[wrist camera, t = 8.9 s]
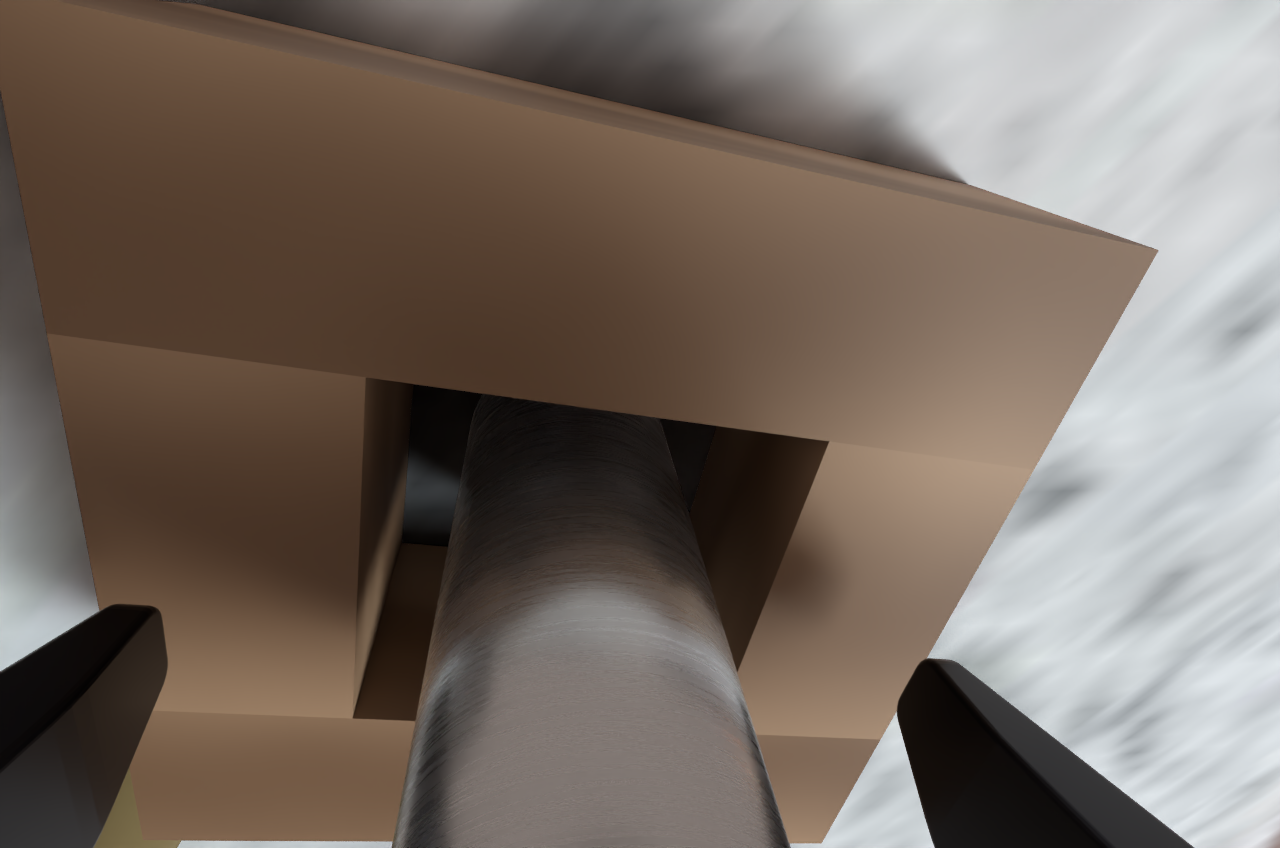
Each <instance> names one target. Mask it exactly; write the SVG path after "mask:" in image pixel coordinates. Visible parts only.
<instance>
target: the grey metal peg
mask: <svg viewBox="0 0 1280 848" xmlns="http://www.w3.org/2000/svg"><path fill="white" fill-rule="evenodd" d="M392 848H791V847H790V844H789V841H788V838H787V834H786V831H785V828H784V825H783V821H782V818H781V815H780V811H779V808H778V805H777V802H776V798H775V795H774V792H773V788H772V785H771V782H770V779H769V775H768V772H767V769H766V765H765V762H764V759H763V756H762V752H761V749H760V746H759V743H758V739H757V736H756V733H755V729H754V726H753V723H752V720H751V716H750V713H749V710H748V706H747V703H746V700H745V697H744V693H743V690H742V687H741V683H740V680H739V677H738V674H737V670H736V667H735V664H734V661H733V657H732V654H731V651H730V647H729V644H728V641H727V638H726V634H725V631H724V628H723V624H722V621H721V618H720V615H719V611H718V608H717V605H716V601H715V598H714V595H713V592H712V588H711V585H710V582H709V579H708V575H707V572H706V569H705V565H704V562H703V559H702V556H701V552H700V549H699V546H698V542H697V539H696V536H695V533H694V529H693V526H692V523H691V519H690V516H689V513H688V510H687V506H686V503H685V500H684V497H683V493H682V490H681V487H680V483H679V480H678V477H677V474H676V470H675V467H674V464H673V460H672V457H671V454H670V451H669V447H668V444H667V441H666V437H665V434H664V431H663V428H662V424H661V421H660V418H656V417H649V416H641V415H634V414H627V413H620V412H612V411H605V410H598V409H591V408H584V407H576V406H569V405H562V404H555V403H547V402H540V401H533V400H526V399H518V398H511V397H504V396H497V395H489V394H482V396H481V398H480V400H479V402H478V403H477V405H476V408H475V411H474V414H473V417H472V422H471V427H470V432H469V438H468V443H467V448H466V454H465V459H464V464H463V470H462V475H461V480H460V486H459V491H458V496H457V502H456V507H455V512H454V518H453V523H452V528H451V534H450V539H449V544H448V550H447V555H446V560H445V566H444V571H443V576H442V582H441V587H440V593H439V598H438V603H437V609H436V614H435V619H434V625H433V630H432V635H431V641H430V646H429V651H428V657H427V662H426V667H425V673H424V678H423V683H422V689H421V694H420V699H419V705H418V710H417V715H416V721H415V726H414V731H413V737H412V742H411V748H410V753H409V758H408V764H407V769H406V774H405V780H404V785H403V790H402V796H401V801H400V806H399V812H398V817H397V822H396V828H395V833H394V838H393V844H392Z"/></svg>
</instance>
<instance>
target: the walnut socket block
mask: <svg viewBox="0 0 1280 848" xmlns="http://www.w3.org/2000/svg"><path fill="white" fill-rule="evenodd" d="M0 91H1V96H2V101H3V107H4V112H5V117H6V122H7V128H8V133H9V138H10V143H11V149H12V154H13V159H14V164H15V170H16V175H17V180H18V185H19V191H20V196H21V201H22V206H23V212H24V217H25V222H26V227H27V233H28V238H29V243H30V248H31V254H32V259H33V264H34V270H35V275H36V280H37V285H38V291H39V296H40V301H41V306H42V312H43V317H44V322H45V327H46V333H47V338H48V343H49V348H50V354H51V359H52V364H53V369H54V375H55V380H56V385H57V390H58V396H59V401H60V406H61V411H62V417H63V422H64V427H65V432H66V438H67V443H68V448H69V454H70V459H71V464H72V469H73V475H74V480H75V485H76V490H77V496H78V501H79V506H80V511H81V517H82V522H83V527H84V532H85V538H86V543H87V548H88V553H89V559H90V564H91V569H92V574H93V580H94V585H95V590H96V595H97V601H98V606H99V611H100V610H102V609H104V608H106V607H108V606H110V605H113V604H133V605H148V606H153V607H156V608H158V609H159V611H160V612H161V615H162V620H163V627H164V635H165V642H166V649H167V657H168V669H167V675H166V678H165V682H164V685H163V687H162V690H161V692H160V695H159V697H158V699H157V702H156V704H155V707H154V709H153V711H152V714H151V716H150V719H149V721H148V723H147V726H146V728H145V731H144V733H143V735H142V738H141V740H140V743H139V745H138V747H137V750H136V752H135V755H134V757H133V759H132V762H131V764H130V767H129V769H130V774H131V779H132V785H133V790H134V795H135V800H136V806H137V811H138V816H139V821H140V827H141V832H142V837H143V840H205V841H393V838H394V833H395V828H396V822H397V817H398V812H399V806H400V801H401V796H402V790H403V785H404V780H405V774H406V769H407V764H408V758H409V753H410V748H411V742H412V737H413V731H414V726H415V721H416V715H417V710H418V705H419V699H420V694H421V689H422V683H423V678H424V673H425V667H426V662H427V657H428V651H429V646H430V641H431V635H432V630H433V625H434V619H435V614H436V609H437V603H438V598H439V593H440V587H441V582H442V576H443V571H444V566H445V560H446V555H447V550H448V547H443V546H432V545H421V544H410V543H402V533H403V520H404V506H405V493H406V479H407V466H408V452H409V439H410V425H411V412H412V398H413V385H414V384H417V385H424V386H431V387H439V388H446V389H453V390H460V391H468V392H475V393H482V394H489V395H497V396H504V397H511V398H518V399H526V400H533V401H540V402H547V403H555V404H562V405H569V406H576V407H584V408H591V409H598V410H605V411H612V412H620V413H627V414H634V415H641V416H649V417H656V418H663V419H670V420H678V421H685V422H692V423H699V424H707V425H714V426H716V429H715V433H714V436H713V439H712V442H711V446H710V449H709V452H708V455H707V459H706V462H705V465H704V468H703V472H702V475H701V478H700V481H699V485H698V488H697V491H696V494H695V498H694V501H693V504H692V507H691V511H690V514H689V516H690V519H691V523H692V526H693V529H694V533H695V536H696V539H697V542H698V546H699V549H700V552H701V556H702V559H703V562H704V565H705V569H706V572H707V575H708V579H709V582H710V585H711V588H712V592H713V595H714V598H715V601H716V605H717V608H718V611H719V615H720V618H721V621H722V624H723V628H724V631H725V634H726V638H727V641H728V644H729V647H730V651H731V654H732V657H733V661H734V664H735V667H736V670H737V674H738V677H739V680H740V683H741V687H742V690H743V693H744V697H745V700H746V703H747V706H748V710H749V713H750V716H751V720H752V723H753V726H754V729H755V733H756V736H757V739H758V743H759V746H760V749H761V752H762V756H763V759H764V762H765V765H766V769H767V772H768V775H769V779H770V782H771V785H772V788H773V792H774V795H775V798H776V802H777V805H778V808H779V811H780V815H781V818H782V821H783V825H784V828H785V831H786V834H787V838H788V841H789V843H822V841H823V840H824V838H825V836H826V834H827V833H828V831H829V829H830V827H831V825H832V824H833V822H834V820H835V818H836V817H837V815H838V813H839V811H840V810H841V808H842V806H843V804H844V803H845V801H846V799H847V797H848V796H849V794H850V792H851V790H852V789H853V787H854V785H855V783H856V782H857V780H858V778H859V776H860V775H861V773H862V771H863V769H864V767H865V766H866V764H867V762H868V760H869V759H870V757H871V755H872V753H873V752H874V750H875V748H876V746H877V745H878V743H879V741H880V739H881V738H882V736H883V734H884V732H885V731H886V729H887V727H888V725H889V724H890V722H891V720H892V718H893V716H894V715H895V713H896V711H897V704H898V700H899V698H900V696H901V694H902V692H903V690H904V688H905V687H906V685H907V683H908V681H909V680H910V678H911V676H912V674H913V672H914V671H915V669H916V667H917V665H918V664H919V663H920V662H921V661H923V660H924V659H926V658H927V657H928V655H929V653H930V651H931V650H932V648H933V646H934V644H935V643H936V641H937V639H938V637H939V636H940V634H941V632H942V630H943V629H944V627H945V625H946V623H947V622H948V620H949V618H950V616H951V614H952V613H953V611H954V609H955V607H956V606H957V604H958V602H959V600H960V599H961V597H962V595H963V593H964V592H965V590H966V588H967V586H968V585H969V583H970V581H971V579H972V578H973V576H974V574H975V572H976V571H977V569H978V567H979V565H980V564H981V562H982V560H983V558H984V556H985V555H986V553H987V551H988V549H989V548H990V546H991V544H992V542H993V541H994V539H995V537H996V535H997V534H998V532H999V530H1000V528H1001V527H1002V525H1003V523H1004V521H1005V520H1006V518H1007V516H1008V514H1009V513H1010V511H1011V509H1012V507H1013V505H1014V504H1015V502H1016V500H1017V498H1018V497H1019V495H1020V493H1021V491H1022V490H1023V488H1024V486H1025V484H1026V483H1027V481H1028V479H1029V477H1030V476H1031V474H1032V472H1033V470H1034V469H1035V467H1036V465H1037V463H1038V462H1039V460H1040V458H1041V456H1042V454H1043V453H1044V451H1045V449H1046V447H1047V446H1048V444H1049V442H1050V440H1051V439H1052V437H1053V435H1054V433H1055V432H1056V430H1057V428H1058V426H1059V425H1060V423H1061V421H1062V419H1063V418H1064V416H1065V414H1066V412H1067V411H1068V409H1069V407H1070V405H1071V403H1072V402H1073V400H1074V398H1075V396H1076V395H1077V393H1078V391H1079V389H1080V388H1081V386H1082V384H1083V382H1084V381H1085V379H1086V377H1087V375H1088V374H1089V372H1090V370H1091V368H1092V367H1093V365H1094V363H1095V361H1096V360H1097V358H1098V356H1099V354H1100V353H1101V351H1102V349H1103V347H1104V345H1105V344H1106V342H1107V340H1108V338H1109V337H1110V335H1111V333H1112V331H1113V330H1114V328H1115V326H1116V324H1117V323H1118V321H1119V319H1120V317H1121V316H1122V314H1123V312H1124V310H1125V309H1126V307H1127V305H1128V303H1129V302H1130V300H1131V298H1132V296H1133V294H1134V293H1135V291H1136V289H1137V287H1138V286H1139V284H1140V282H1141V280H1142V279H1143V277H1144V275H1145V273H1146V272H1147V270H1148V268H1149V266H1150V265H1151V263H1152V261H1153V259H1154V258H1155V256H1156V254H1157V252H1158V251H1159V250H1156V249H1154V248H1151V247H1148V246H1145V245H1142V244H1139V243H1136V242H1133V241H1130V240H1128V239H1125V238H1122V237H1119V236H1116V235H1113V234H1110V233H1107V232H1104V231H1102V230H1099V229H1096V228H1093V227H1090V226H1087V225H1084V224H1081V223H1078V222H1076V221H1073V220H1070V219H1067V218H1064V217H1061V216H1058V215H1055V214H1052V213H1049V212H1047V211H1044V210H1041V209H1038V208H1035V207H1032V206H1029V205H1026V204H1023V203H1021V202H1018V201H1015V200H1012V199H1009V198H1006V197H1003V196H1000V195H997V194H995V193H992V192H989V191H986V190H983V189H980V188H977V187H974V186H971V185H968V184H963V183H959V182H955V181H951V180H946V179H942V178H938V177H933V176H929V175H925V174H921V173H916V172H912V171H908V170H904V169H899V168H895V167H891V166H887V165H882V164H878V163H874V162H869V161H865V160H861V159H857V158H852V157H848V156H844V155H840V154H835V153H831V152H827V151H823V150H818V149H814V148H810V147H805V146H801V145H797V144H793V143H788V142H784V141H780V140H776V139H771V138H767V137H763V136H758V135H754V134H750V133H746V132H741V131H737V130H733V129H729V128H724V127H720V126H716V125H712V124H707V123H703V122H699V121H694V120H690V119H686V118H682V117H677V116H673V115H669V114H665V113H660V112H656V111H652V110H648V109H643V108H639V107H635V106H630V105H626V104H622V103H618V102H613V101H609V100H605V99H601V98H596V97H592V96H588V95H583V94H579V93H575V92H571V91H566V90H562V89H558V88H554V87H549V86H545V85H541V84H537V83H532V82H528V81H524V80H519V79H515V78H511V77H507V76H502V75H498V74H494V73H490V72H485V71H481V70H477V69H473V68H468V67H464V66H460V65H455V64H451V63H447V62H443V61H438V60H434V59H430V58H426V57H421V56H417V55H413V54H408V53H404V52H400V51H396V50H391V49H387V48H383V47H379V46H374V45H370V44H366V43H362V42H357V41H353V40H349V39H344V38H340V37H336V36H332V35H327V34H323V33H319V32H315V31H310V30H306V29H302V28H298V27H293V26H289V25H285V24H280V23H276V22H272V21H268V20H263V19H259V18H255V17H251V16H246V15H242V14H238V13H234V12H229V11H225V10H221V9H216V8H212V7H208V6H204V5H199V4H190V3H180V2H169V1H159V0H0Z"/></svg>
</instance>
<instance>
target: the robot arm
mask: <svg viewBox="0 0 1280 848" xmlns="http://www.w3.org/2000/svg"><path fill="white" fill-rule="evenodd" d="M167 669H168V657H167V649H166V642H165V635H164V627H163V620H162V615H161V612H160V611H159V609H158V608H156V607H153V606H148V605H133V604H113V605H110V606H108V607H106V608H104V609H102V610H100V611H99V612H97V613H96V614H94V615H92V616H91V617H89V618H87V619H86V620H84V621H82V622H81V623H79V624H77V625H76V626H74V627H73V628H71V629H69V630H68V631H66V632H64V633H63V634H61V635H59V636H58V637H56V638H55V639H53V640H51V641H50V642H48V643H46V644H45V645H43V646H41V647H40V648H38V649H37V650H35V651H33V652H32V653H30V654H28V655H27V656H25V657H23V658H22V659H20V660H18V661H17V662H15V663H14V664H12V665H10V666H9V667H7V668H5V669H4V670H2V671H0V848H94V846H95V844H96V842H97V840H98V838H99V836H100V834H101V832H102V830H103V828H104V826H105V823H106V821H107V819H108V817H109V814H110V812H111V810H112V807H113V805H114V803H115V800H116V798H117V796H118V793H119V791H120V788H121V786H122V784H123V781H124V779H125V776H126V774H127V771H128V769H129V767H130V764H131V762H132V759H133V757H134V755H135V752H136V750H137V747H138V745H139V743H140V740H141V738H142V735H143V733H144V731H145V728H146V726H147V723H148V721H149V719H150V716H151V714H152V711H153V709H154V707H155V704H156V702H157V699H158V697H159V695H160V692H161V690H162V687H163V685H164V682H165V678H166V675H167ZM897 717H898V722H899V725H900V729H901V733H902V736H903V740H904V743H905V747H906V751H907V754H908V758H909V761H910V765H911V769H912V772H913V776H914V779H915V783H916V787H917V790H918V794H919V797H920V801H921V805H922V808H923V812H924V815H925V819H926V822H927V825H928V829H929V832H930V835H931V838H932V841H933V844H934V847H935V848H1194V847H1193V846H1192V845H1190V844H1189V843H1188V842H1186V841H1185V840H1184V839H1183V838H1181V837H1180V836H1179V835H1177V834H1176V833H1175V832H1174V831H1172V830H1171V829H1170V828H1169V827H1167V826H1166V825H1165V824H1163V823H1162V822H1161V821H1160V820H1158V819H1157V818H1156V817H1154V816H1153V815H1152V814H1151V813H1149V812H1148V811H1147V810H1145V809H1144V808H1143V807H1142V806H1140V805H1139V804H1138V803H1137V802H1135V801H1134V800H1133V799H1131V798H1130V797H1129V796H1128V795H1126V794H1125V793H1124V792H1122V791H1121V790H1120V789H1119V788H1117V787H1116V786H1115V785H1114V784H1112V783H1111V782H1110V781H1108V780H1107V779H1106V778H1105V777H1103V776H1102V775H1101V774H1099V773H1098V772H1097V771H1096V770H1094V769H1093V768H1092V767H1091V766H1089V765H1088V764H1087V763H1085V762H1084V761H1083V760H1082V759H1080V758H1079V757H1078V756H1076V755H1075V754H1074V753H1073V752H1071V751H1070V750H1069V749H1068V748H1066V747H1065V746H1064V745H1062V744H1061V743H1060V742H1059V741H1057V740H1056V739H1055V738H1053V737H1052V736H1051V735H1050V734H1048V733H1047V732H1046V731H1044V730H1043V729H1042V728H1041V727H1039V726H1038V725H1037V724H1036V723H1034V722H1033V721H1032V720H1030V719H1029V718H1028V717H1027V716H1025V715H1024V714H1023V713H1021V712H1020V711H1019V710H1018V709H1016V708H1015V707H1014V706H1013V705H1011V704H1010V703H1009V702H1007V701H1006V700H1005V699H1004V698H1002V697H1001V696H1000V695H998V694H997V693H996V692H995V691H993V690H992V689H991V688H990V687H988V686H987V685H986V684H984V683H983V682H982V681H981V680H979V679H978V678H977V677H975V676H974V675H973V674H972V673H970V672H969V671H968V670H967V669H965V668H964V667H963V666H961V665H960V664H959V663H957V662H955V661H952V660H946V659H931V658H928V659H924V660H923V661H921V662H920V663H919V664H918V665H917V667H916V669H915V671H914V672H913V674H912V676H911V678H910V680H909V681H908V683H907V685H906V687H905V688H904V690H903V692H902V694H901V696H900V698H899V700H898V704H897Z"/></svg>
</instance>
